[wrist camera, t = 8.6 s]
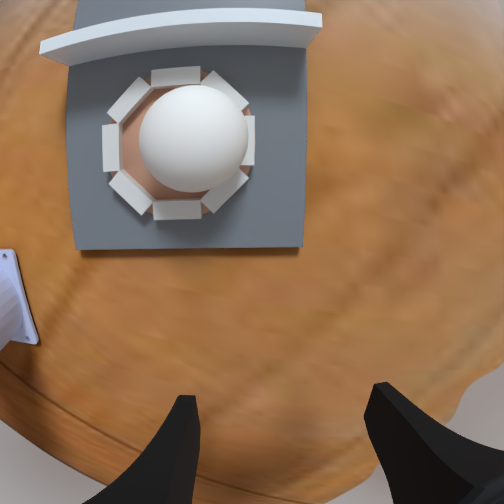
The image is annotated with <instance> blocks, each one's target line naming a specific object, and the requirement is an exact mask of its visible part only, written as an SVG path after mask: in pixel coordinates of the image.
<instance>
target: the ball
mask: <svg viewBox="0 0 504 504" xmlns="http://www.w3.org/2000/svg"><path fill="white" fill-rule="evenodd" d="M248 139H249V135H248V127H247V123H246V119H245V117H244V115H243V113H242V111H241V109H240V108H239V106H238V105H237V104H236V103H235V102H234V101H233V100H232V99H231V98H230V97H229V96H227V95H226V94H225V93H223V92H221V91H219V90H217V89H214V88H211V87H207V86H202V85H189V86H183V87H179V88H176V89H174V90H171V91H169V92H167V93H166V94H164V95H163V96H161V97H160V98H159V99H158V100H157V101H155V102H154V103H153V105H152V106H151V107H150V108H149V110H148V111H147V113H146V114H145V116H144V118H143V121H142V124H141V127H140V132H139V150H140V154H141V157H142V160H143V162H144V164H145V166H146V168H147V169H148V171H149V172H150V173H151V175H152V176H153V177H154V178H155V179H156V180H158V181H159V182H160V183H162V184H163V185H165V186H167V187H169V188H171V189H174V190H177V191H181V192H202V191H206V190H209V189H213V188H215V187H217V186H219V185H221V184H222V183H224V182H225V181H227V180H228V179H229V178H230V177H231V176H232V175H233V174H234V173H235V172H236V171H237V169H238V168H239V167H240V165H241V163H242V162H243V160H244V157H245V155H246V152H247V148H248Z"/></svg>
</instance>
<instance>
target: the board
mask: <svg viewBox="0 0 504 504" xmlns="http://www.w3.org/2000/svg"><path fill="white" fill-rule="evenodd" d="M321 29H322V14H321V13H313V12H305V2H304V0H78V5H77V10H76V16H75V22H74V29H73V31H71V32H68V33H64V34H61V35H58V36H55V37H52V38H49V39H46V40H43V41H41V45H40V52H39V55H42V56H45V57H47V58H50V59H52V60H55V61H57V62H60V63H62V64H64V65H67V66H69V73H68V87H67V112H66V145H67V171H68V186H69V198H70V208H71V217H72V225H73V233H74V240H75V247H76V250H105V249H172V248H254V247H303V235H304V214H305V188H306V150H307V60H306V48H307V47H308V45H309V44H310V43H311V41H312V40H313V39H314V38H315V36H316V35H317V34H318V32H319V31H320V30H321ZM189 85H202V86H207V87H211V88H214V89H217V90H219V91H221V92H223V93H225V94H226V95H227V96H229V97H230V98H231V99H232V100H233V101H234V102H235V103H236V104H237V105H238V106H239V108H240V109H241V111H242V113H243V115H244V117H245V119H246V123H247V127H248V135H249V139H248V148H247V152H246V155H245V157H244V160H243V162H242V163H241V165H240V167H239V168H238V169H237V171H236V172H235V173H234V174H233V175H232V176H231V177H230V178H229V179H228V180H227V181H225V182H224V183H222V184H221V185H219V186H217V187H215V188H213V189H209V190H206V191H202V192H181V191H177V190H174V189H171V188H169V187H167V186H165V185H163V184H162V183H160V182H159V181H158V180H156V179H155V178H154V177H153V176H152V175H151V173H150V172H149V171H148V169H147V168H146V166H145V164H144V162H143V160H142V157H141V154H140V150H139V132H140V127H141V124H142V121H143V118H144V116H145V114H146V113H147V111H148V110H149V108H150V107H151V106H152V105H153V103H154V102H155V101H157V100H158V99H159V98H160V97H161V96H163V95H164V94H166V93H167V92H169V91H171V90H174V89H176V88H179V87H183V86H189Z"/></svg>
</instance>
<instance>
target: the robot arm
mask: <svg viewBox="0 0 504 504" xmlns="http://www.w3.org/2000/svg"><path fill="white" fill-rule="evenodd" d="M5 254H6V256H7V258H6V256H5ZM10 340H12V341H17V342H23V343H29V344H37V343H38V341H39V338H38V335H37V332H36V329H35V326H34V323H33V320H32V316H31V313H30V310H29V306H28V303H27V299H26V295H25V292H24V288H23V284H22V280H21V276H20V271H19V267H18V262H17V257H16V254H15V252H14V250H12V249H0V351H1V350H2V349H3V347H4V346H5V345H6V344H7V343H8V342H9V341H10ZM364 420H365V424H366V428H367V431H368V435H369V438H370V440H371V442H372V445H373V447H374V449H375V452H376V454H377V456H378V459H379V461H380V463H381V466H382V468H383V470H384V473H385V475H386V478H387V481H388V484H389V487H390V491H391V495H392V499H393V503H394V504H504V451H502V450H498V449H494V448H491V447H488V446H484V445H482V444H479V443H476V442H474V441H472V440H469V439H467V438H465V437H463V436H461V435H459V434H457V433H455V432H453V431H451V430H450V429H448V428H446V427H445V426H443V425H441V424H440V423H438V422H437V421H436V420H434V419H433V418H431V417H430V416H428V415H427V414H426V413H424V412H423V411H422V410H420V409H419V408H418V407H417V406H415V405H414V404H413V403H412V402H411V401H409V400H408V399H407V398H406V397H405V396H403V395H402V394H401V393H400V392H399V391H398V390H396V389H395V388H394V387H393V386H392V385H390V384H389V383H388V382H382V383H377V384H374V386H373V389H372V392H371V395H370V398H369V402H368V405H367V408H366V410H365V413H364ZM199 450H200V422H199V416H198V410H197V404H196V397H195V396H193V395H179V396H178V397H177V399H176V401H175V403H174V405H173V407H172V409H171V411H170V412H169V414H168V416H167V418H166V419H165V421H164V423H163V424H162V426H161V427H160V429H159V430H158V432H157V433H156V435H155V436H154V438H153V439H152V440H151V442H150V443H149V444H148V446H147V447H146V448H145V450H144V451H143V452H142V453H141V454H140V456H139V457H138V458H137V459H136V460H135V461H134V462H133V463H132V464H131V466H130V467H129V468H128V469H127V470H126V471H124V472H123V473H122V474H121V475H120V476H119V477H118V478H117V479H116V480H115V481H114V482H112V483H111V484H110V485H109V486H107V487H106V488H105V489H103V490H102V491H101V492H99V493H98V494H97V495H95V496H94V497H92V498H91V499H89V500H87V501H86V502H84V503H82V504H192V496H193V489H194V482H195V476H196V470H197V463H198V457H199Z"/></svg>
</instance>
